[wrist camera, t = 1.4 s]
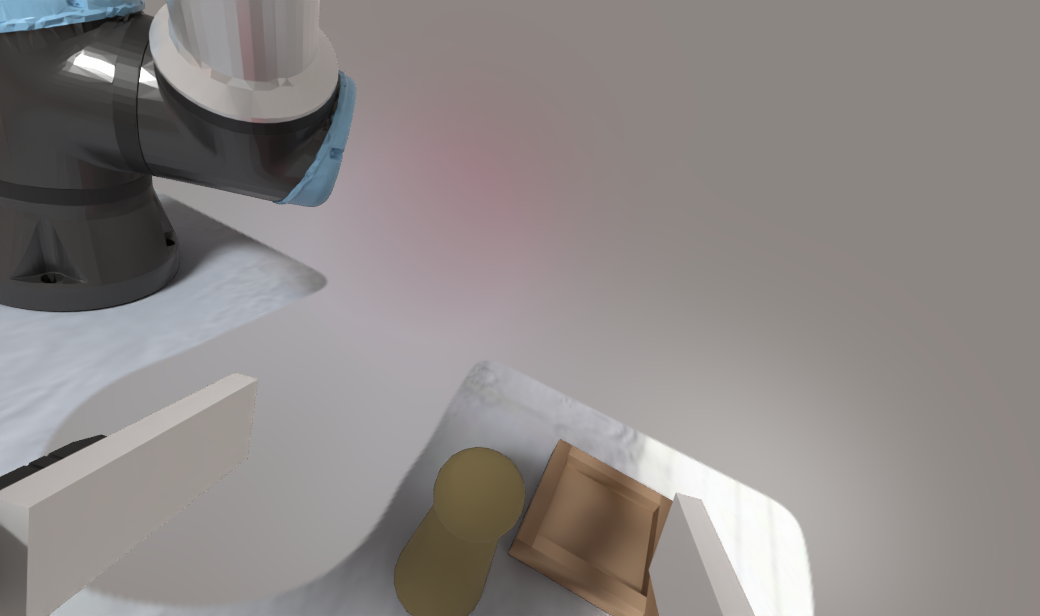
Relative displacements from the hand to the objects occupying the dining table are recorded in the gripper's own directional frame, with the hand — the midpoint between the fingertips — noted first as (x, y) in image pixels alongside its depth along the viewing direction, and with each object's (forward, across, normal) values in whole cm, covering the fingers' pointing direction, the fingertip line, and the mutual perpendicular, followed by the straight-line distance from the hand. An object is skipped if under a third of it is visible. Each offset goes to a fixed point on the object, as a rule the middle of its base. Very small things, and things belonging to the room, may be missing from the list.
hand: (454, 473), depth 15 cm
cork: (+15, -1, -17) cm, 22 cm away
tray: (+22, +10, -16) cm, 29 cm away
